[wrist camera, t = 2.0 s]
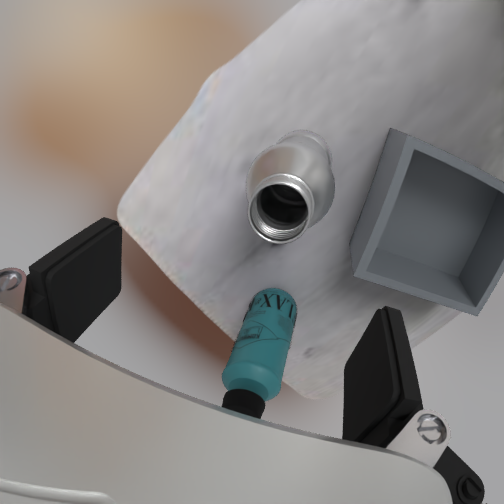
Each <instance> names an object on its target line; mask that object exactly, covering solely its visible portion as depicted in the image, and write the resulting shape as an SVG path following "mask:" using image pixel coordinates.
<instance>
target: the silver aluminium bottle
mask: <svg viewBox="0 0 504 504" xmlns="http://www.w3.org/2000/svg"><path fill="white" fill-rule="evenodd" d="M331 167H332V154H331V151H330V148H329V146H328V145H327V143H326V142H325V141H324V139H323V138H321V137H320V136H319V135H317V134H315V133H313V132H310V131H307V130H297V131H293V132H290V133H288V134H286V135H285V136H283V137H282V138H281V139H280V140H279V141H278V143H277V144H276V145H274V146H271V147H269V148H268V149H266V150H264V151H263V152H262V153H261V154H260V155H259V156H258V157H256V159H255V160H254V162H253V163H252V165H251V167H250V169H249V171H248V174H247V179H246V194H247V200H248V203H249V204H248V220H249V223H250V225H251V227H252V229H253V230H254V232H255V233H256V234H257V235H258V236H259V237H261V238H262V239H264V240H266V241H268V242H271V243H274V244H286V243H289V242H292V241H294V240H296V239H298V238H299V237H300V236H302V234H303V233H304V232H305V231H306V229H308V228H310V227H312V226H313V225H315V224H316V223H317V222H319V221H320V220H321V219H322V218H323V217H324V216H325V215H326V213H327V212H328V210H329V208H330V207H331V205H332V202H333V198H334V193H335V182H334V177H333V173H332V170H331Z"/></svg>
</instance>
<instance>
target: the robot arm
mask: <svg viewBox="0 0 504 504" xmlns="http://www.w3.org/2000/svg"><path fill="white" fill-rule="evenodd" d="M121 253H122V228H121V227H120V226H119V223H118V222H117V221H115V220H111V219H109V218H105V217H104V218H101V219H100V220H98V221H97V222H95V223H93V224H92V225H90V226H89V227H87V228H85V229H84V230H83V231H81V232H79V233H78V234H76V235H75V236H73V237H71V238H70V239H69V240H67V241H65V242H64V243H62V244H61V245H60V246H58V247H56V248H55V249H54V250H52V251H51V252H49V253H48V254H46V255H45V256H43V257H42V258H41V259H39V260H38V261H36V262H35V263H33V264H32V265H31V266H29V271H30V274H28V275H27V276H26V274H25V273H24V271H22V270H21V269H18V268H5V269H2V270H0V504H482V501H483V498H484V492H485V491H484V485H483V483H482V480H481V479H480V478H479V476H478V475H477V474H476V473H475V472H474V471H473V470H472V469H471V468H470V467H469V466H468V465H467V464H466V463H465V462H464V461H463V460H461V458H460V457H458V456H457V455H456V454H455V453H454V452H453V451H452V450H451V449H450V448H449V447H448V446H447V445H448V443H449V440H450V438H451V431H450V427H449V425H448V423H447V421H446V420H445V419H444V418H443V417H442V416H441V415H440V414H438V413H437V412H435V411H432V410H427V409H424V410H423V405H422V399H421V394H420V389H419V384H418V379H417V374H416V370H415V366H414V361H413V357H412V352H411V348H410V344H409V340H408V336H407V332H406V329H405V325H404V321H403V317H402V314H401V311H400V310H397V309H394V308H390V307H387V306H385V307H383V308H382V309H378V310H377V311H376V312H375V314H374V316H373V318H372V320H371V322H370V323H369V325H368V327H367V329H366V330H365V332H364V334H363V336H362V337H361V339H360V341H359V342H358V344H357V346H356V347H355V349H354V351H353V352H352V354H351V356H350V357H349V359H348V361H347V362H346V365H345V369H344V410H343V436H342V439H338V438H334V437H329V436H324V435H320V434H316V433H311V432H307V431H303V430H299V429H295V428H291V427H287V426H283V425H279V424H275V423H272V422H268V421H265V420H261V419H258V418H254V417H251V416H248V415H244V414H241V413H238V412H235V411H232V410H229V409H226V408H223V407H220V406H217V405H214V404H211V403H208V402H205V401H202V400H199V399H197V398H194V397H191V396H189V395H186V394H183V393H181V392H178V391H176V390H173V389H171V388H168V387H165V386H163V385H161V384H159V383H156V382H154V381H151V380H149V379H147V378H144V377H142V376H140V375H138V374H135V373H133V372H131V371H129V370H127V369H124V368H122V367H120V366H118V365H116V364H114V363H112V362H110V361H108V360H106V359H103V358H101V357H99V356H97V355H95V354H93V353H91V352H89V351H88V350H86V349H84V348H82V347H80V346H78V345H76V344H74V342H75V341H76V340H77V339H78V338H79V337H80V336H81V334H82V333H83V332H84V331H85V330H86V329H87V328H88V327H89V326H90V325H91V324H92V322H93V321H94V320H95V319H96V318H97V317H98V316H99V315H100V314H101V313H102V312H103V311H104V310H105V309H106V308H107V307H108V305H109V304H110V303H111V302H112V301H113V300H114V299H115V298H116V297H117V296H118V295H119V293H120V291H121ZM486 504H487V503H486Z"/></svg>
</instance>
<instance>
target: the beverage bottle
mask: <svg viewBox="0 0 504 504" xmlns="http://www.w3.org/2000/svg"><path fill="white" fill-rule="evenodd" d="M251 302H252V303H250V305H251V306H250V305H249V309H248V310H249V311H247V312H246V313H247V314H246V316H245V318H244V320H243V322H244V323H243V325H242V328H241V330H240V331H239V332H240V333H239V334H238V337H237V340H236V341H235V342H236V343H235V345H234V348H233V350H232V353H231V356H230V358H229V361H228V363H227V365H226V368H225V369H224V371H223V373H222V381H223V384H224V386H225V387H226V389H227V390H228V392H226V394H225V396H224V398H223V404H222V407H223V408H226V409H229V410H232V411H235V412H238V413H241V414H244V415H248V416H251V417H254V418H258V419H261V416H262V413H263V412H264V409H265V401H268V400H270V399H272V398H274V397H275V396H276V395H277V394H278V393H279V391H280V388H281V381H282V376H283V372H284V367H285V363H286V358H287V354H288V350H289V346H290V341H291V340H292V339H291V338H292V333H293V331H294V329H293V328H294V326H295V321H296V316H297V313H298V311H297V310H298V309H297V308H296V306H297V305H296V304H295V301H294V299H293V298H292V297H291V295H289V294H288V293H287V292H285V291H283V290H280V289H275V288H269V289H265V290H262V291H260V292H259V293H257V295H256V296H255V297H254V299H253V301H251ZM296 311H297V313H296Z"/></svg>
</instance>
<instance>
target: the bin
mask: <svg viewBox="0 0 504 504" xmlns="http://www.w3.org/2000/svg"><path fill="white" fill-rule="evenodd" d="M350 252H351V260H352V268H353V276H354V277H357V278H360V279H363V280H367V281H370V282H373V283H376V284H379V285H382V286H385V287H388V288H391V289H395V290H398V291H401V292H404V293H407V294H410V295H413V296H416V297H419V298H422V299H425V300H429V301H432V302H435V303H438V304H441V305H444V306H447V307H450V308H453V309H456V310H459V311H462V312H465V313H469V314H472V315H474V316H478V314H479V313H480V311H481V310H482V308H483V306H484V305H485V303H486V302H487V300H488V298H489V296H490V295H491V293H492V291H493V290H494V288H495V286H496V285H497V283H498V281H499V279H500V278H501V276H502V274H503V272H504V182H502V181H500V180H499V179H497V178H495V177H494V176H492V175H490V174H488V173H486V172H485V171H483V170H481V169H479V168H477V167H475V166H474V165H472V164H470V163H468V162H466V161H464V160H462V159H460V158H458V157H456V156H454V155H452V154H450V153H448V152H446V151H444V150H441V149H439V148H437V147H435V146H433V145H431V144H428V143H426V142H424V141H422V140H419V139H417V138H415V137H412V136H410V135H408V134H405V133H402V132H400V131H397V130H394V129H392V128H390V131H389V134H388V137H387V141H386V144H385V147H384V150H383V153H382V156H381V159H380V162H379V165H378V168H377V171H376V174H375V177H374V180H373V182H372V185H371V188H370V191H369V194H368V196H367V199H366V202H365V205H364V207H363V210H362V213H361V215H360V218H359V221H358V223H357V226H356V228H355V231H354V233H353V236H352V239H351V241H350Z"/></svg>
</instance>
